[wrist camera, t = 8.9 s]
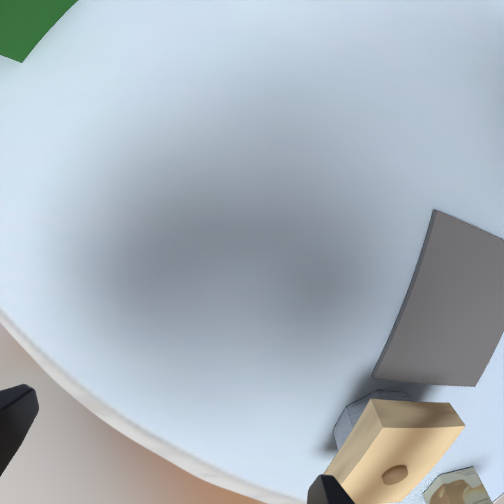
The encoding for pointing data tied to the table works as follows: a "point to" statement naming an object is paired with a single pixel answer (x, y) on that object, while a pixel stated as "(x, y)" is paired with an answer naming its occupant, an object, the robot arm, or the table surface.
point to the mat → (449, 309)
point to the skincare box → (457, 489)
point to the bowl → (360, 413)
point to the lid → (393, 449)
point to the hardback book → (27, 24)
